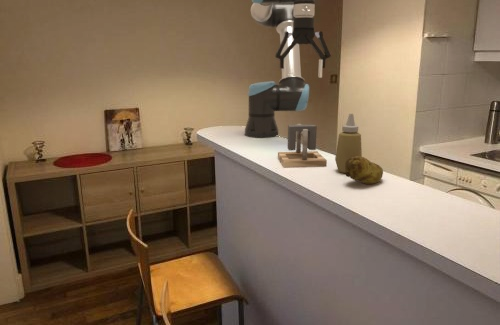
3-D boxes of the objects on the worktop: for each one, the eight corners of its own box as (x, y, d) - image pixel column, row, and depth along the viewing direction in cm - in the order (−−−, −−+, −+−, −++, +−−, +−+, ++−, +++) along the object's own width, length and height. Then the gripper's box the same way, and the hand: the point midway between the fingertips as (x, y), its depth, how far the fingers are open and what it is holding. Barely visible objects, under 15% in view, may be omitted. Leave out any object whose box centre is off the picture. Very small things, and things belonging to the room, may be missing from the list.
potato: (393, 185, 115) (395, 157, 113) (350, 189, 112) (352, 160, 110) (377, 177, 123) (379, 150, 121) (337, 180, 120) (338, 153, 118)
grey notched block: (289, 150, 137) (289, 126, 135) (287, 148, 140) (288, 125, 138) (315, 149, 138) (316, 126, 136) (313, 147, 141) (314, 124, 139)
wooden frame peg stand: (277, 157, 146) (278, 123, 143) (316, 156, 147) (318, 123, 144) (283, 167, 133) (284, 130, 130) (326, 166, 135) (328, 129, 131)
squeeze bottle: (361, 175, 124) (365, 116, 119) (334, 174, 126) (337, 115, 121) (360, 168, 132) (364, 112, 127) (334, 167, 133) (337, 111, 129)
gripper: (270, 16, 144) (270, 78, 149) (340, 16, 146) (337, 77, 151) (268, 18, 151) (267, 77, 156) (334, 18, 153) (332, 76, 158)
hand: (302, 77), depth 154 cm, fingers open, 13 cm apart
